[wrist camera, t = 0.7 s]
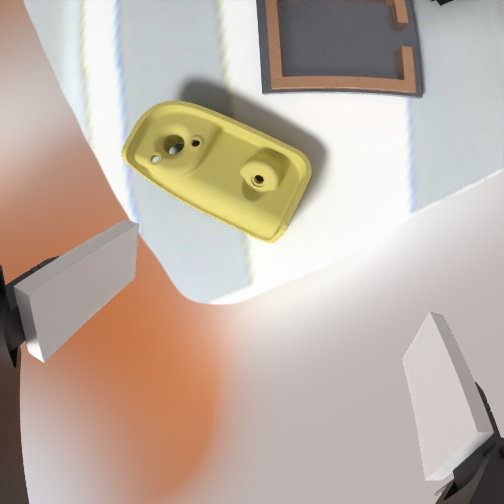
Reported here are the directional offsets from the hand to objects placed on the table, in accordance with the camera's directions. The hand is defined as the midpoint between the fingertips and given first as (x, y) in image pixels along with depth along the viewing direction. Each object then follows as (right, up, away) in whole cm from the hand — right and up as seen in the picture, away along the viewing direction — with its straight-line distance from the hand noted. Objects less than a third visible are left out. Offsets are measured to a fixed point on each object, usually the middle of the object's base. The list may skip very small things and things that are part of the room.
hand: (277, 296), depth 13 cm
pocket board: (+9, +26, +16) cm, 32 cm away
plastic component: (-4, +12, +25) cm, 28 cm away
